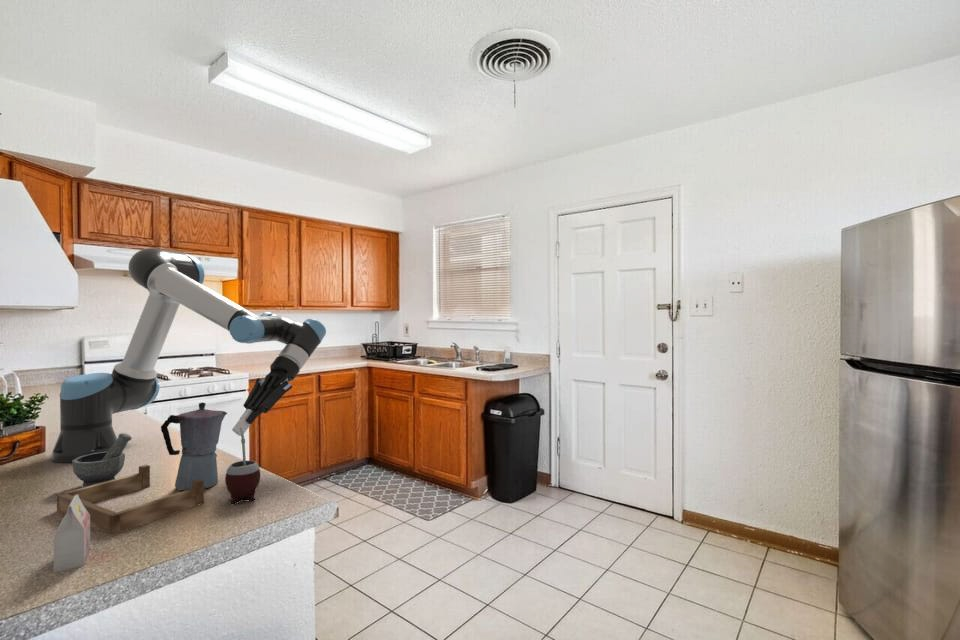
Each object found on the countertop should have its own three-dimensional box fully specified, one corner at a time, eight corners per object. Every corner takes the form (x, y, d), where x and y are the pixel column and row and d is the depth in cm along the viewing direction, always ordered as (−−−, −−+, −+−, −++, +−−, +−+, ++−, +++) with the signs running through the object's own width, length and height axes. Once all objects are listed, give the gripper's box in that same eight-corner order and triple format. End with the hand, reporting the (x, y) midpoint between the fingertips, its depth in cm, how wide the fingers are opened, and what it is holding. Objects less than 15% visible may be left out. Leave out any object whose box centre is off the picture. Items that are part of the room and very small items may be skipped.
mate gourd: (243, 507, 101) (243, 437, 101) (214, 502, 103) (214, 434, 103) (268, 494, 108) (268, 429, 108) (240, 490, 110) (241, 427, 110)
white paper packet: (53, 572, 75) (53, 510, 75) (62, 554, 81) (62, 496, 81) (83, 565, 77) (83, 505, 77) (89, 548, 83) (90, 492, 83)
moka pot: (238, 479, 118) (238, 400, 118) (176, 500, 104) (176, 410, 104) (212, 473, 122) (212, 397, 122) (150, 493, 108) (150, 407, 108)
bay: (146, 485, 114) (146, 464, 114) (203, 503, 103) (203, 480, 103) (56, 511, 98) (56, 487, 98) (113, 535, 88) (113, 508, 88)
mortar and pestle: (69, 495, 107) (69, 443, 107) (74, 483, 114) (74, 434, 114) (131, 485, 113) (131, 436, 113) (132, 474, 121) (132, 428, 121)
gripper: (312, 372, 136) (262, 443, 121) (281, 370, 142) (230, 438, 128) (297, 355, 131) (243, 427, 117) (266, 354, 138) (211, 422, 123)
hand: (237, 432), depth 122 cm, fingers closed
